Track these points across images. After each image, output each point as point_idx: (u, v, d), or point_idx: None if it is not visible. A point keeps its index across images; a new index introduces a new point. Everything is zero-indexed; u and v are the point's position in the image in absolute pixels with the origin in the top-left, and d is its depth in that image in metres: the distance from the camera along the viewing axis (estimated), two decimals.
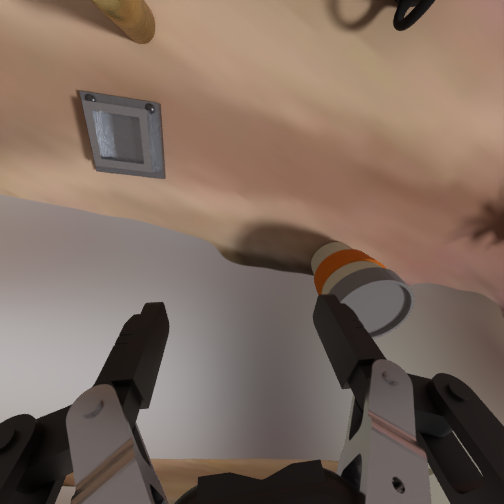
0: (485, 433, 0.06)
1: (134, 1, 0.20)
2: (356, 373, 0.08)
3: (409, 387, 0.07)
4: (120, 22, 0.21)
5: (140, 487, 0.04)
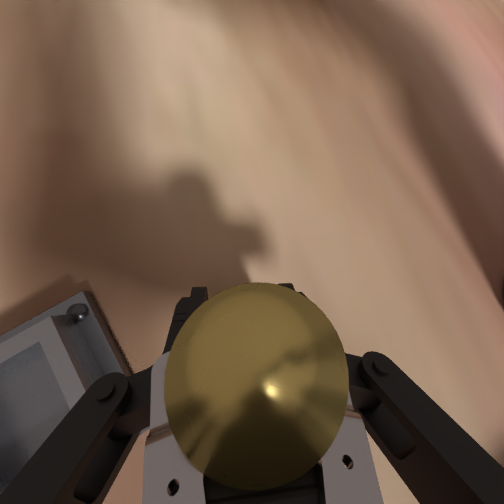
0: (408, 399, 0.06)
1: None
2: None
3: None
4: None
5: None
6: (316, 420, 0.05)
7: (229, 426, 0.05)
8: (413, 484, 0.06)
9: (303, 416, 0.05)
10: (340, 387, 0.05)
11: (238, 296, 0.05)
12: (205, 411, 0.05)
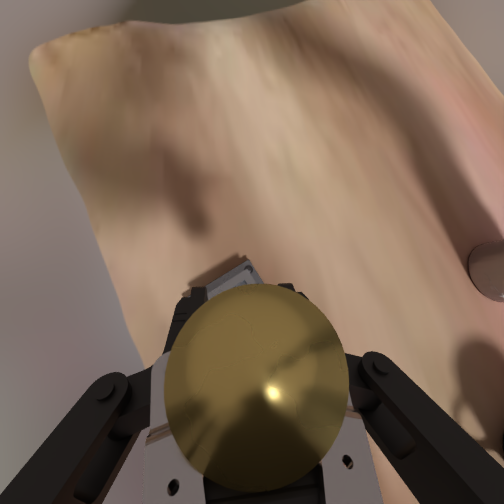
0: (408, 399, 0.06)
1: None
2: None
3: None
4: None
5: None
6: (316, 421, 0.05)
7: (229, 427, 0.05)
8: (413, 484, 0.06)
9: (303, 417, 0.05)
10: (340, 388, 0.05)
11: (238, 297, 0.05)
12: (205, 412, 0.05)
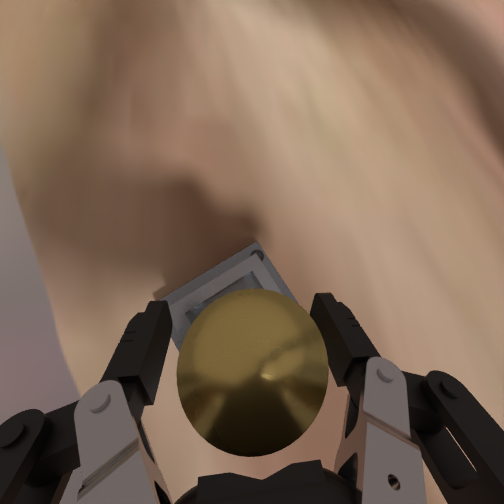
0: (478, 429, 0.06)
1: None
2: (351, 371, 0.08)
3: (403, 384, 0.07)
4: None
5: (145, 484, 0.04)
6: (301, 401, 0.06)
7: (229, 405, 0.06)
8: None
9: (290, 398, 0.06)
10: (321, 375, 0.06)
11: (237, 300, 0.07)
12: (210, 393, 0.06)
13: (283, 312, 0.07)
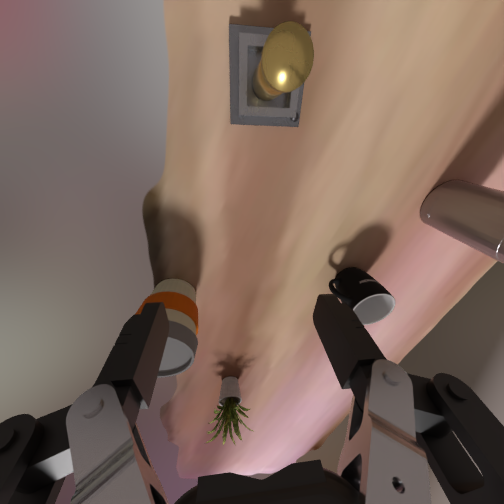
0: (485, 433, 0.06)
1: (271, 94, 0.23)
2: (356, 373, 0.08)
3: (409, 387, 0.07)
4: (257, 74, 0.23)
5: (140, 487, 0.04)
6: (292, 82, 0.19)
7: (274, 65, 0.18)
8: None
9: (290, 78, 0.19)
10: (302, 79, 0.19)
11: (297, 28, 0.17)
12: (271, 56, 0.18)
13: (307, 47, 0.18)
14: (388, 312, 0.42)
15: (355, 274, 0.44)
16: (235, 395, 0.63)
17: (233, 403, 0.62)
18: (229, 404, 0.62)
